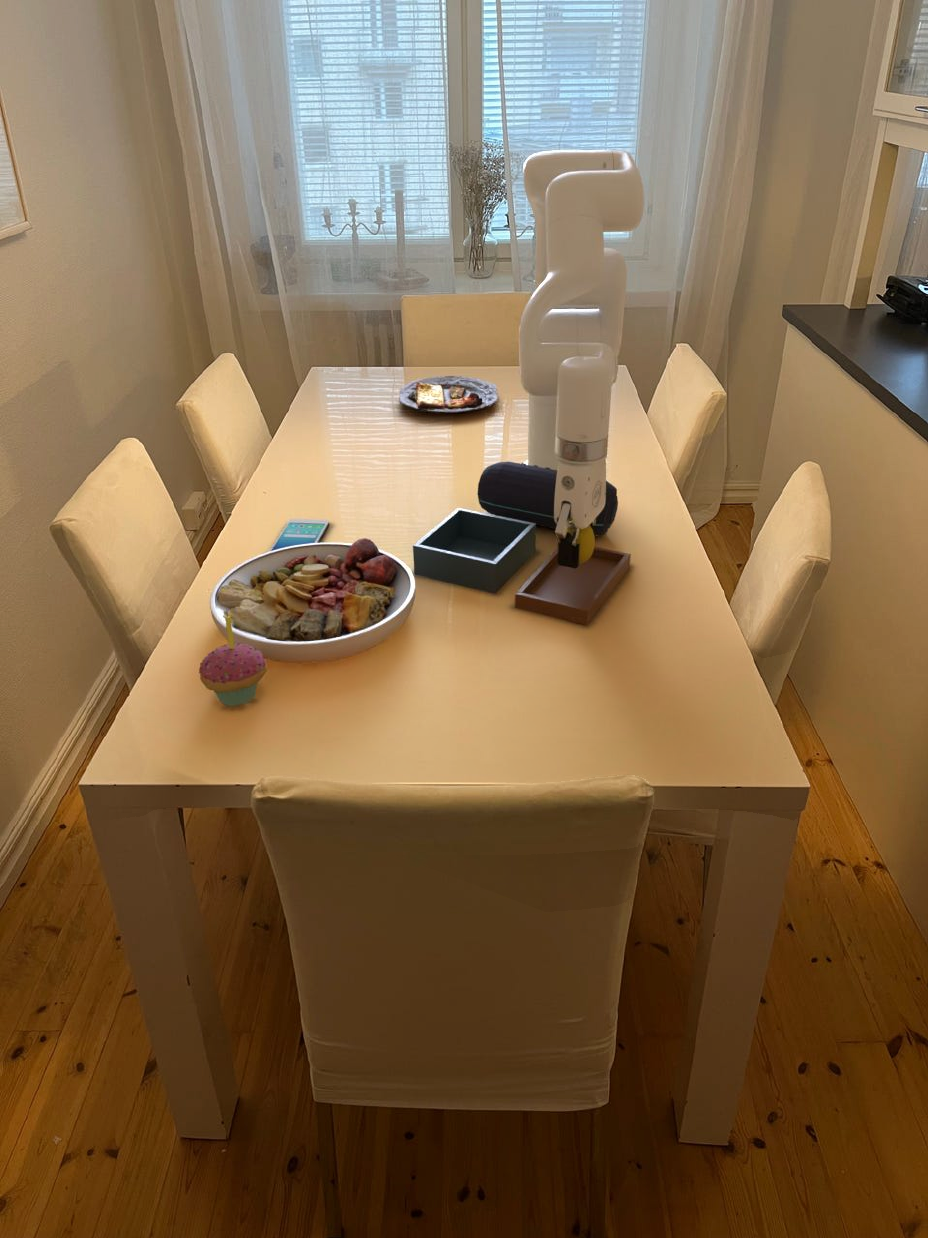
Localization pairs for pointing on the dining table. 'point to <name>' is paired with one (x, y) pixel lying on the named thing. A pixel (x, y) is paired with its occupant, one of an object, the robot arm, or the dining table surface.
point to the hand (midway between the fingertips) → (575, 556)
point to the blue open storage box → (475, 550)
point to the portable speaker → (532, 495)
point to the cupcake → (233, 670)
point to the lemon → (584, 542)
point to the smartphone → (301, 533)
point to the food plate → (448, 394)
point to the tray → (573, 586)
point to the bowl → (315, 600)
